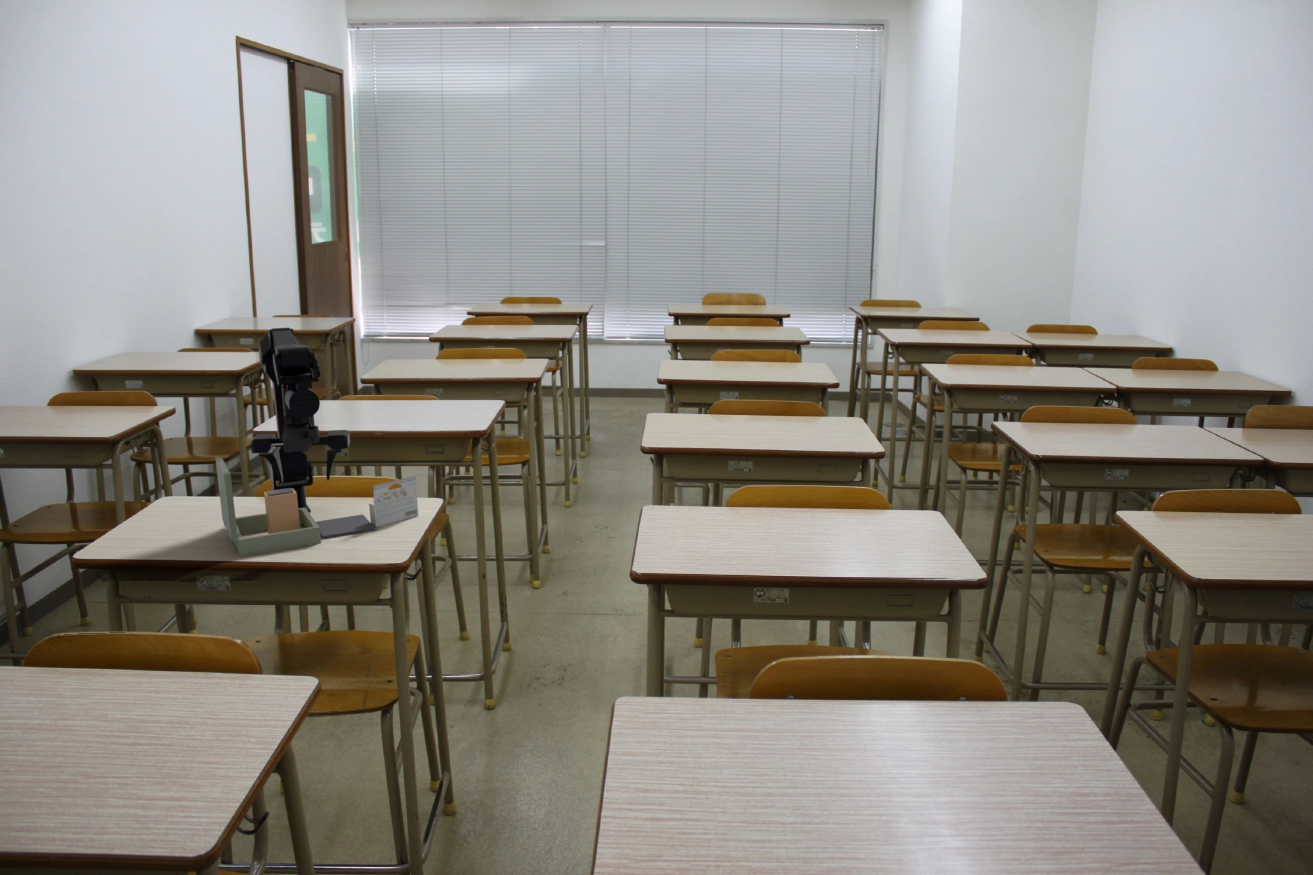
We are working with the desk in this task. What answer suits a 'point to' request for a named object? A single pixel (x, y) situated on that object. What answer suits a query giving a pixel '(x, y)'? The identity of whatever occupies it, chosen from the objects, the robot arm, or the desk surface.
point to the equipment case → (260, 523)
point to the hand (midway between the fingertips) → (305, 481)
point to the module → (282, 510)
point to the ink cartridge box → (394, 502)
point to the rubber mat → (344, 526)
